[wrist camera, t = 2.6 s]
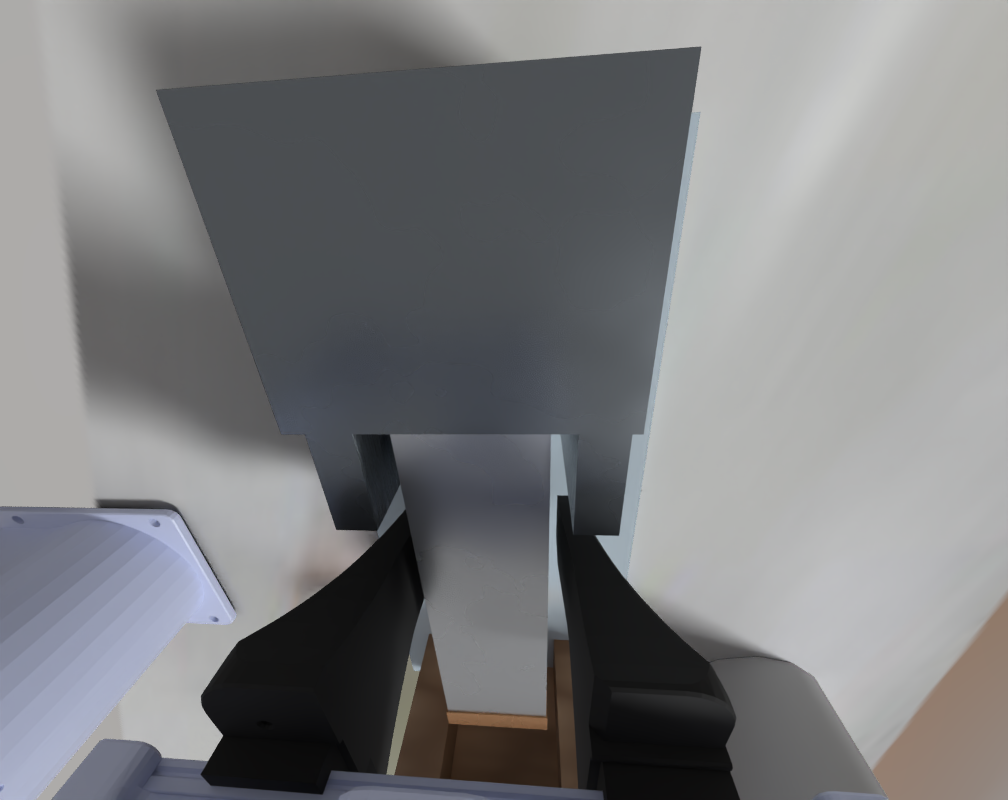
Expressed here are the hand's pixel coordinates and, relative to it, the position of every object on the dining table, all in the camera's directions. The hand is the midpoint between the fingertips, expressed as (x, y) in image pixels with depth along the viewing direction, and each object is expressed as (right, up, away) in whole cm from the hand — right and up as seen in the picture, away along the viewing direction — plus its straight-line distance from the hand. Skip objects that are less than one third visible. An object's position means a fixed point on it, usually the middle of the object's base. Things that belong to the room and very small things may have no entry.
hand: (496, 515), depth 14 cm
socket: (+1, -9, +7) cm, 11 cm away
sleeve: (0, +7, -2) cm, 8 cm away
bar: (0, +2, 0) cm, 2 cm away
